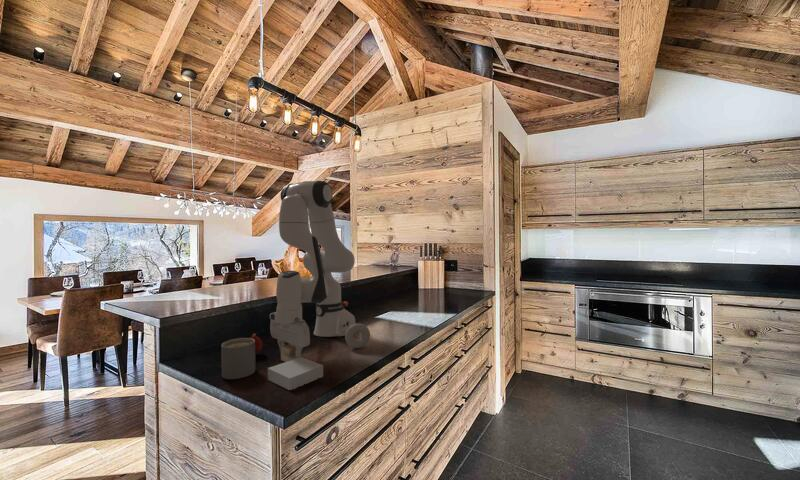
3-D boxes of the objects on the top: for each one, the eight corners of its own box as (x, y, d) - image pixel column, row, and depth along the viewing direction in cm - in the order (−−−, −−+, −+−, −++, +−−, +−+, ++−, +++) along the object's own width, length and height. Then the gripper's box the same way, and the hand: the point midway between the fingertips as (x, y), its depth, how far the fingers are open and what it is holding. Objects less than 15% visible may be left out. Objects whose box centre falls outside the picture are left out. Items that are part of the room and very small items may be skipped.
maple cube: (293, 356, 122) (292, 342, 122) (300, 359, 118) (300, 345, 118) (280, 360, 118) (280, 346, 118) (288, 363, 115) (288, 349, 114)
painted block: (300, 368, 111) (300, 356, 111) (323, 377, 103) (323, 365, 103) (267, 380, 102) (267, 368, 101) (289, 392, 94) (289, 378, 94)
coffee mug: (252, 377, 103) (252, 345, 103) (217, 381, 101) (217, 348, 101) (259, 361, 116) (259, 333, 116) (228, 364, 114) (228, 336, 114)
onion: (256, 358, 119) (255, 336, 119) (242, 357, 120) (241, 336, 120) (265, 353, 125) (265, 332, 125) (252, 352, 126) (252, 331, 126)
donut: (345, 350, 126) (345, 325, 126) (344, 347, 130) (344, 323, 130) (370, 348, 129) (370, 323, 129) (369, 345, 132) (369, 321, 132)
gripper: (314, 318, 114) (314, 358, 114) (282, 310, 127) (282, 346, 127) (298, 322, 109) (299, 363, 109) (266, 313, 122) (267, 350, 122)
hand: (289, 354), depth 118 cm, fingers open, 8 cm apart
